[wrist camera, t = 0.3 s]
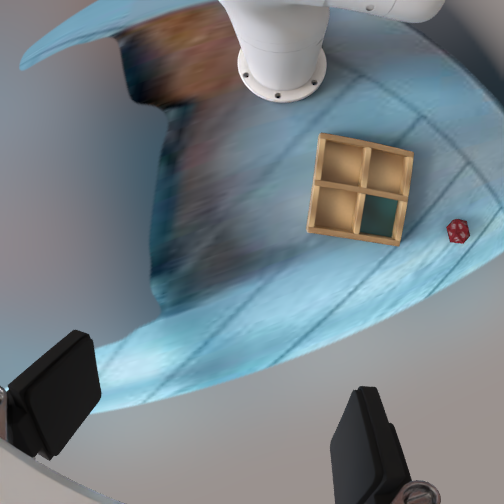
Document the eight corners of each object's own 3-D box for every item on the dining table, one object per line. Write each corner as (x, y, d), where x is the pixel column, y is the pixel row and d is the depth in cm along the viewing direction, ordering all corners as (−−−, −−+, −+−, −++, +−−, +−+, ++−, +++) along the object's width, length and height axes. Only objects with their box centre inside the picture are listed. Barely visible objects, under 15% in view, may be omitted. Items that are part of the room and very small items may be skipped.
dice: (437, 231, 42) (449, 236, 38) (453, 210, 40) (466, 214, 37) (450, 247, 42) (462, 253, 38) (466, 226, 41) (479, 231, 37)
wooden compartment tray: (318, 134, 40) (320, 132, 38) (407, 153, 39) (414, 152, 37) (306, 229, 44) (307, 232, 41) (393, 242, 43) (399, 246, 40)
